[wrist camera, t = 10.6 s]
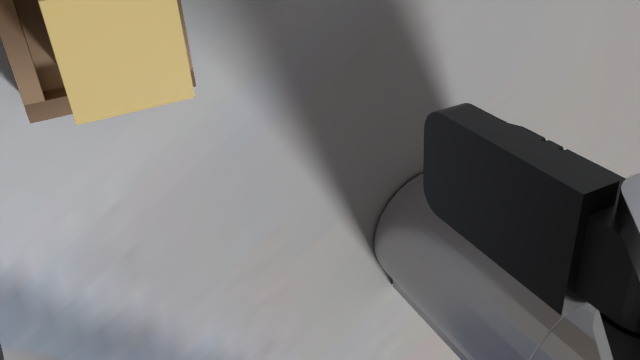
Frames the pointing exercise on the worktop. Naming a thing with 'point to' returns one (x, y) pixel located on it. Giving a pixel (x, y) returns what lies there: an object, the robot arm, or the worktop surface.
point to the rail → (40, 59)
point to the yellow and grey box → (118, 55)
